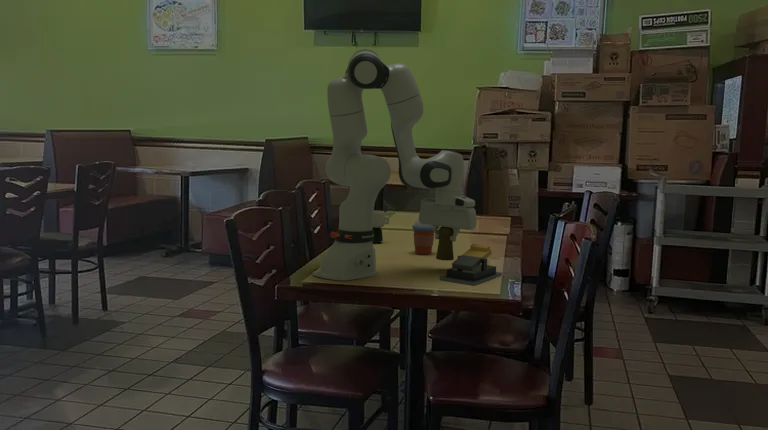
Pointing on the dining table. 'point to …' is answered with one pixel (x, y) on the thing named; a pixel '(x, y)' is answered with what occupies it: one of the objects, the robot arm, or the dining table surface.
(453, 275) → the grey box with tabs
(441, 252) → the dark tall tapered piece
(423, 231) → the cup with straw
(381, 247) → the dining table surface
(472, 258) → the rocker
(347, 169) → the robot arm
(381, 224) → the grey trophy cup
